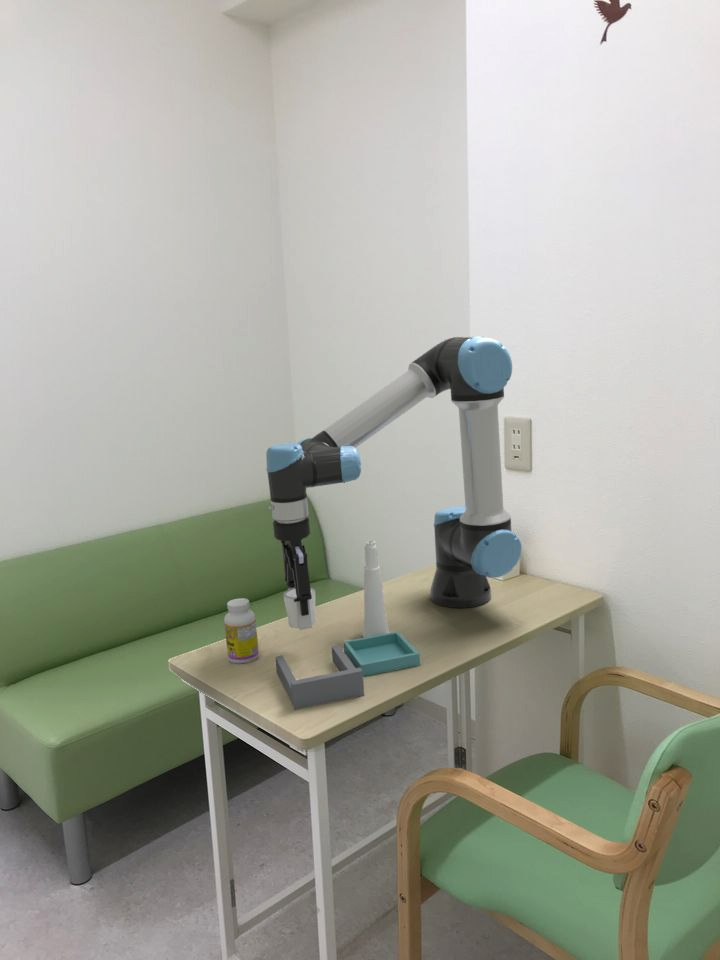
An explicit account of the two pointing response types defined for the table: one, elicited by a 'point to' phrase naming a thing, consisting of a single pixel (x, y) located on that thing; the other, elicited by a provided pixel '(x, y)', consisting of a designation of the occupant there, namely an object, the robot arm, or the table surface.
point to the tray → (381, 653)
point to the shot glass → (292, 608)
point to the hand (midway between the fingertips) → (301, 621)
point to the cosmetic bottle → (373, 594)
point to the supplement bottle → (241, 632)
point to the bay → (322, 682)
